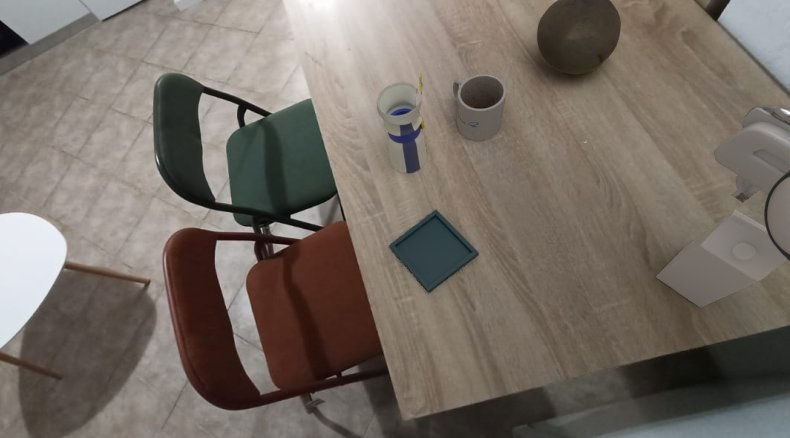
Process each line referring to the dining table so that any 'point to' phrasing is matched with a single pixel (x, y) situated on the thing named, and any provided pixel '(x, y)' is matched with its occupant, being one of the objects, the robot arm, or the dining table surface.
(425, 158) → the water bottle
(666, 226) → the dining table surface
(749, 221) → the milk carton
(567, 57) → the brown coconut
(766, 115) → the robot arm
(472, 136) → the mug
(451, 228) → the tray
